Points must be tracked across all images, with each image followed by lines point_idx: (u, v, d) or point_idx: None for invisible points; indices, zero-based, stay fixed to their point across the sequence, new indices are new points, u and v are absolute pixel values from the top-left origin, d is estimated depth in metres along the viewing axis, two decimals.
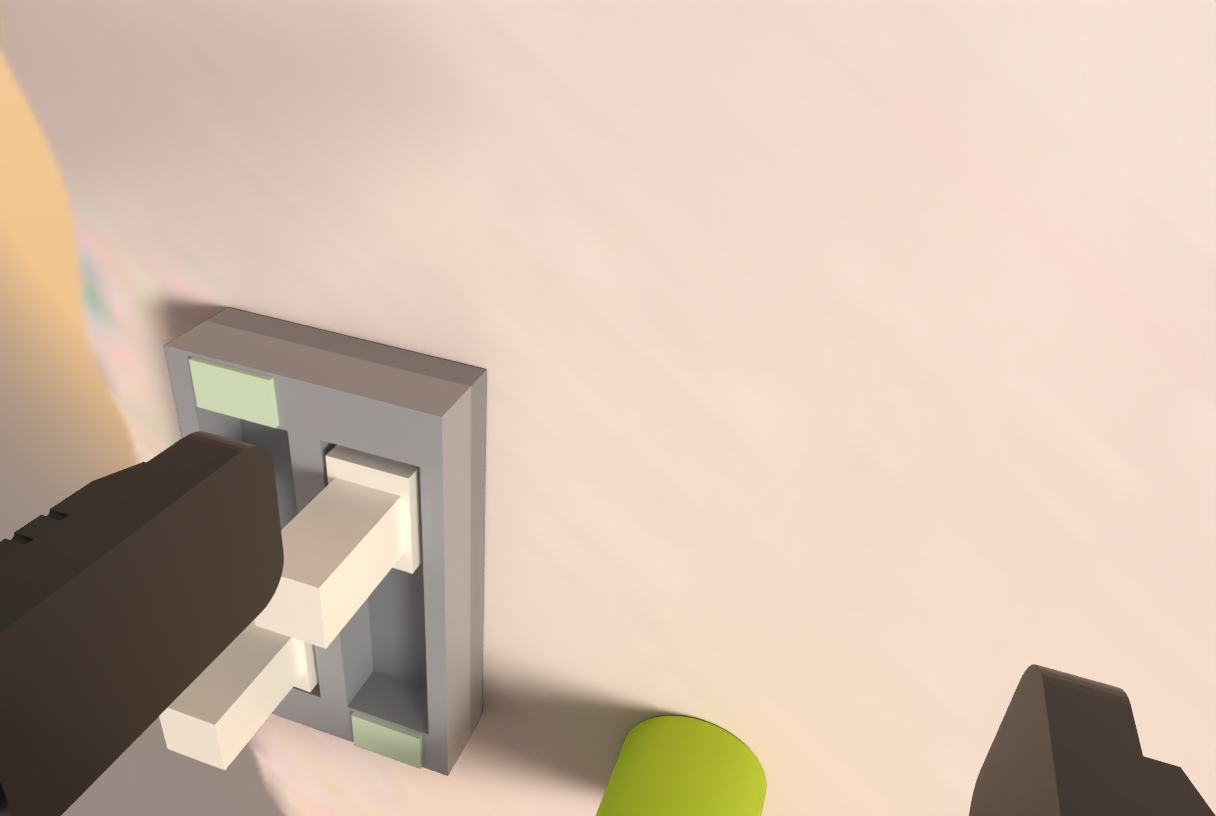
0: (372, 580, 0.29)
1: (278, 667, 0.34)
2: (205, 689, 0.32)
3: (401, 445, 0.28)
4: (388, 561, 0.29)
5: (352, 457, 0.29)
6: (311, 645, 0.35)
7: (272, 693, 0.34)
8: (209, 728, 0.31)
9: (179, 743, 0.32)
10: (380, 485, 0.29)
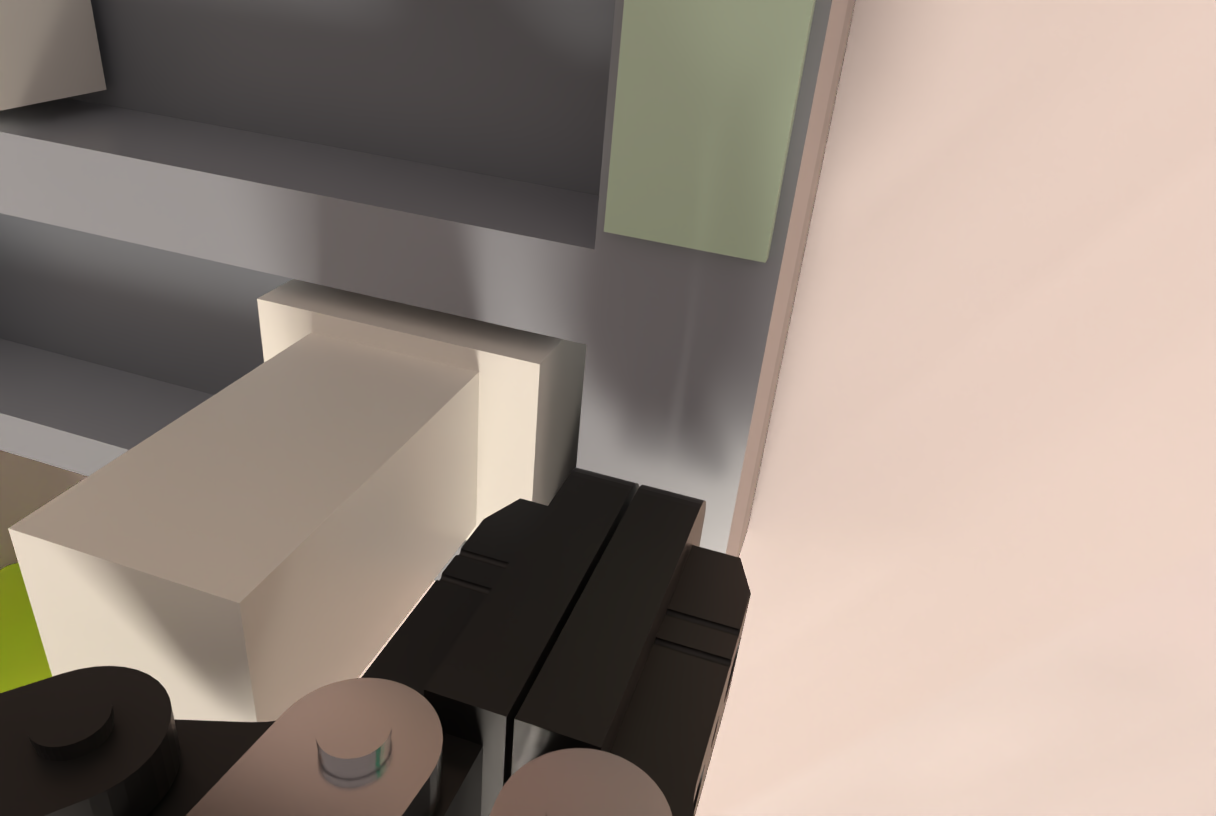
0: None
1: None
2: None
3: None
4: None
5: (544, 412, 0.12)
6: None
7: None
8: None
9: None
10: (491, 485, 0.12)
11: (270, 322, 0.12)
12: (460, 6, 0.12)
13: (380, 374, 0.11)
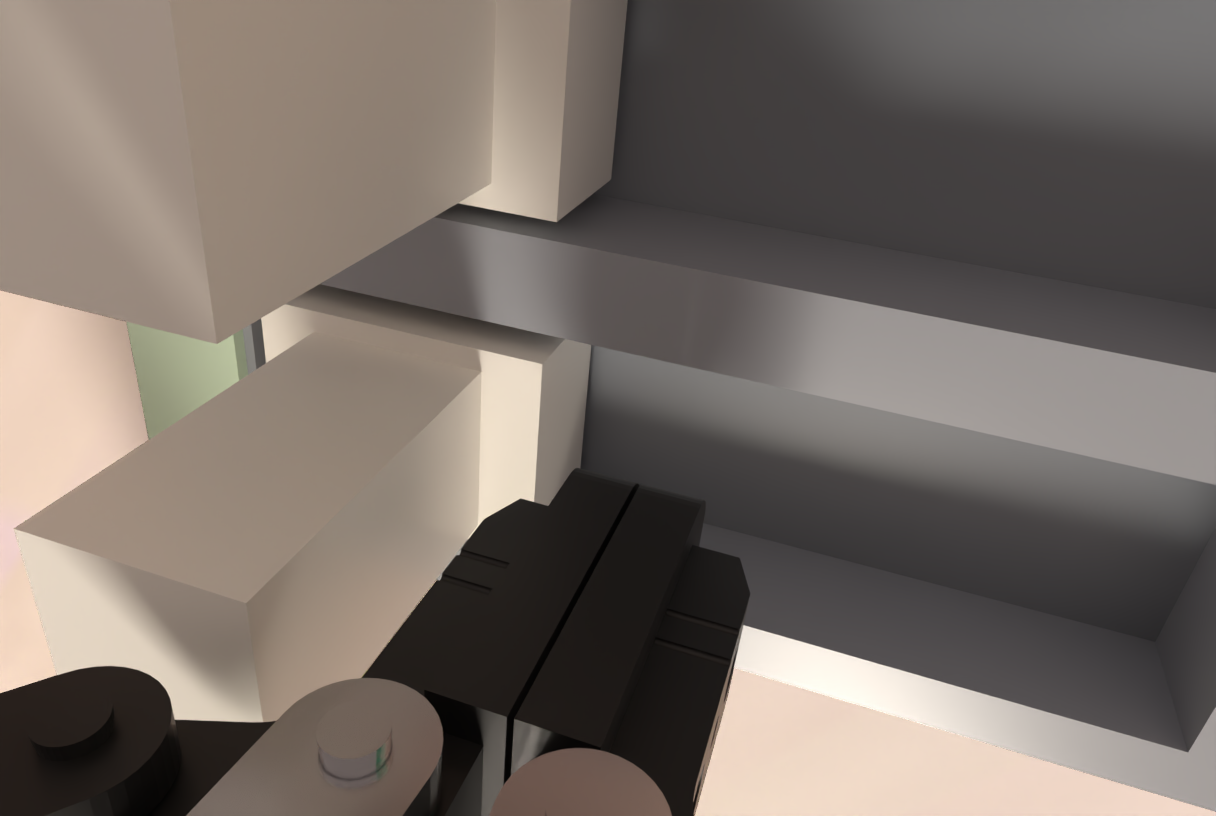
0: None
1: None
2: (297, 128, 0.07)
3: None
4: None
5: (547, 411, 0.12)
6: None
7: None
8: (173, 300, 0.06)
9: None
10: (494, 485, 0.12)
11: (272, 322, 0.12)
12: (1133, 100, 0.10)
13: (383, 374, 0.11)
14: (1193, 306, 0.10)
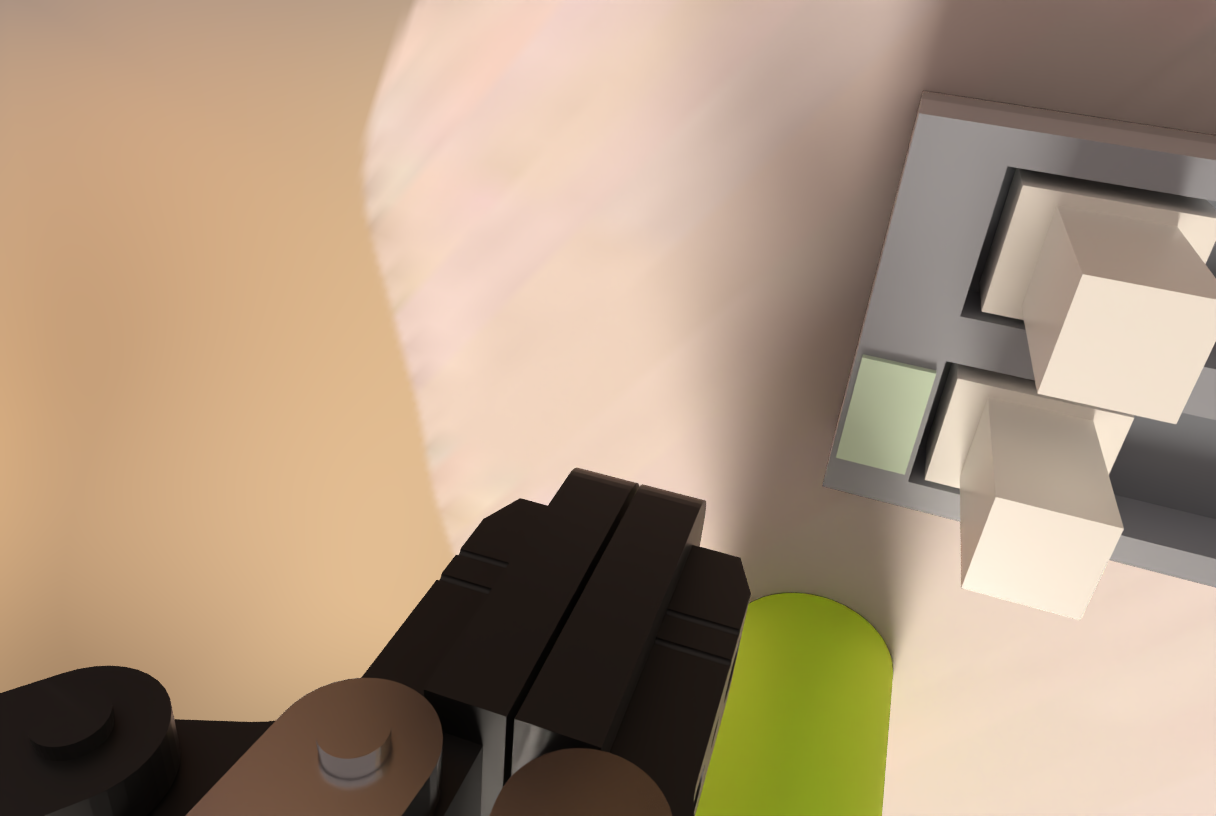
0: None
1: None
2: None
3: None
4: None
5: (1119, 442, 0.22)
6: None
7: None
8: (1162, 408, 0.16)
9: (1105, 313, 0.16)
10: None
11: (961, 391, 0.22)
12: None
13: (1049, 422, 0.21)
14: None
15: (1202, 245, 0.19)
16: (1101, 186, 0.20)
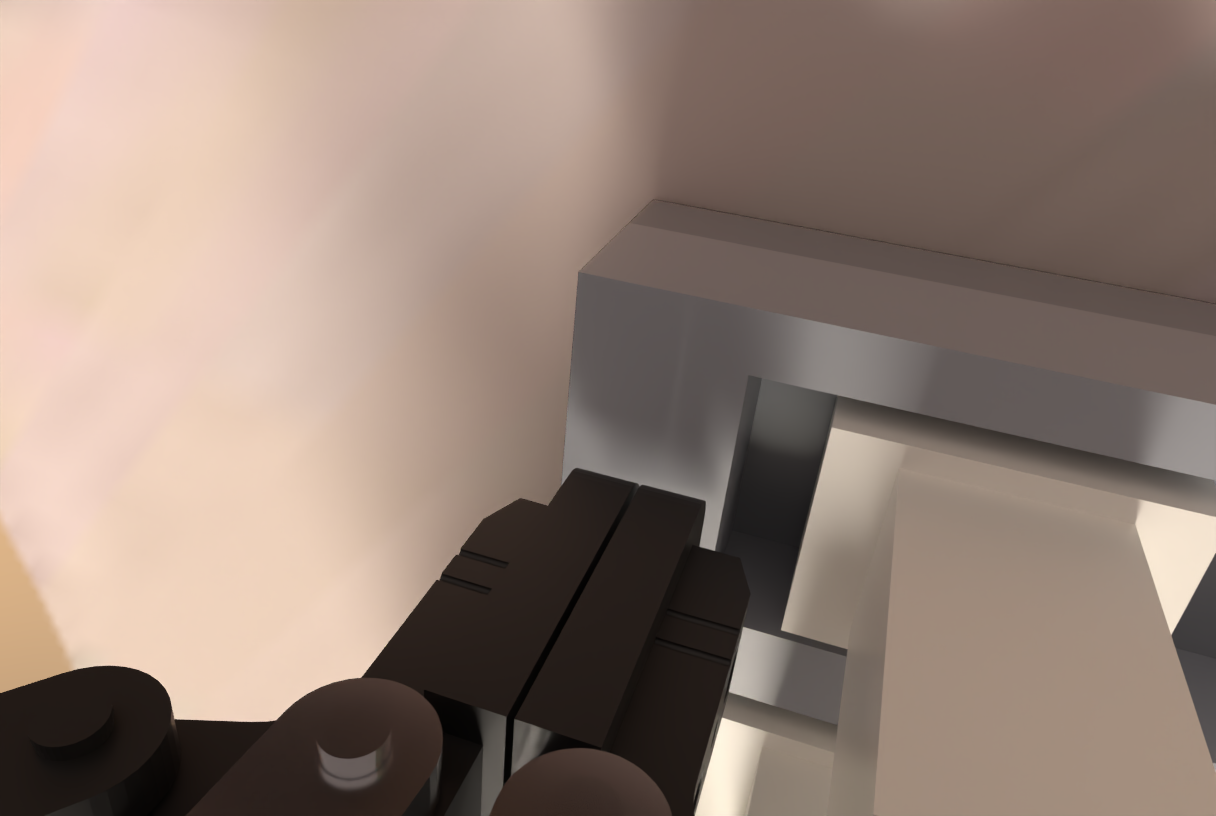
0: None
1: None
2: None
3: None
4: None
5: None
6: None
7: None
8: None
9: None
10: None
11: None
12: None
13: None
14: None
15: (1186, 560, 0.09)
16: None
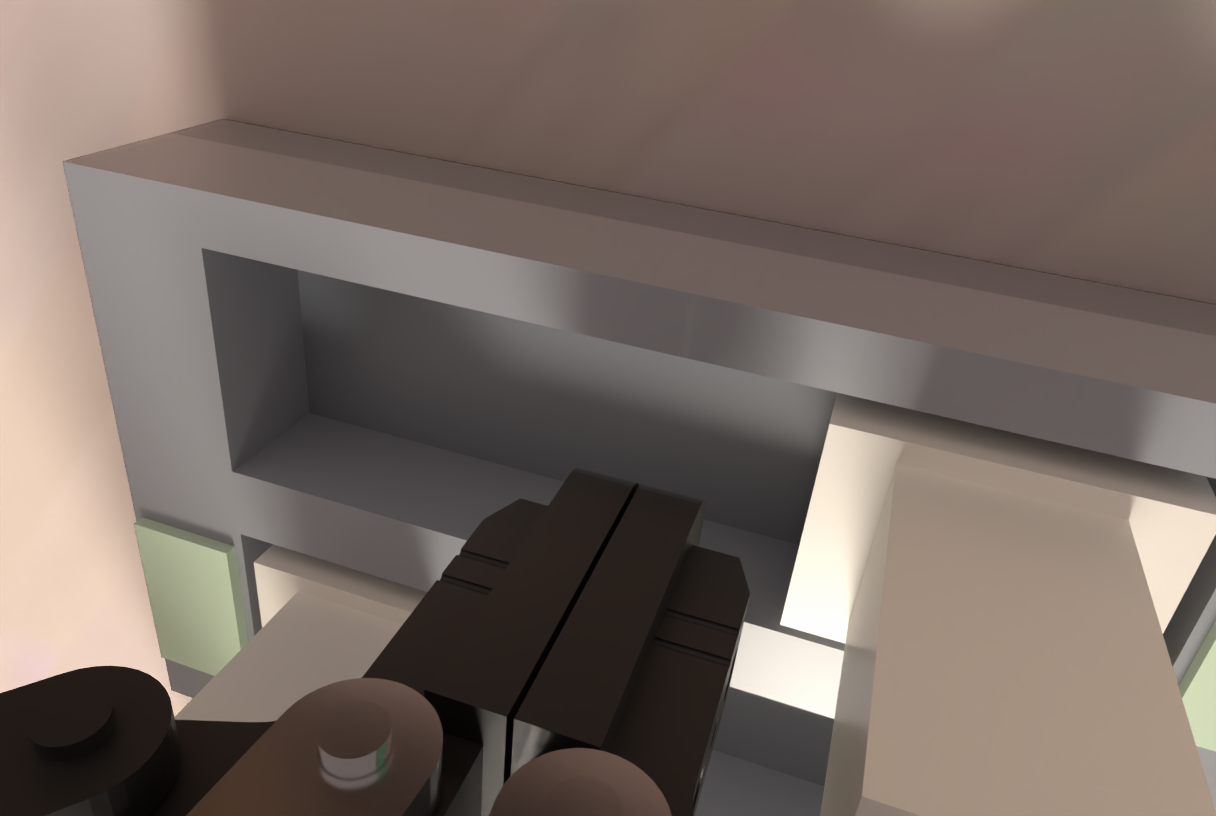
0: None
1: None
2: None
3: None
4: None
5: None
6: None
7: None
8: None
9: None
10: None
11: (264, 580, 0.14)
12: None
13: (353, 642, 0.14)
14: None
15: (1179, 556, 0.10)
16: None
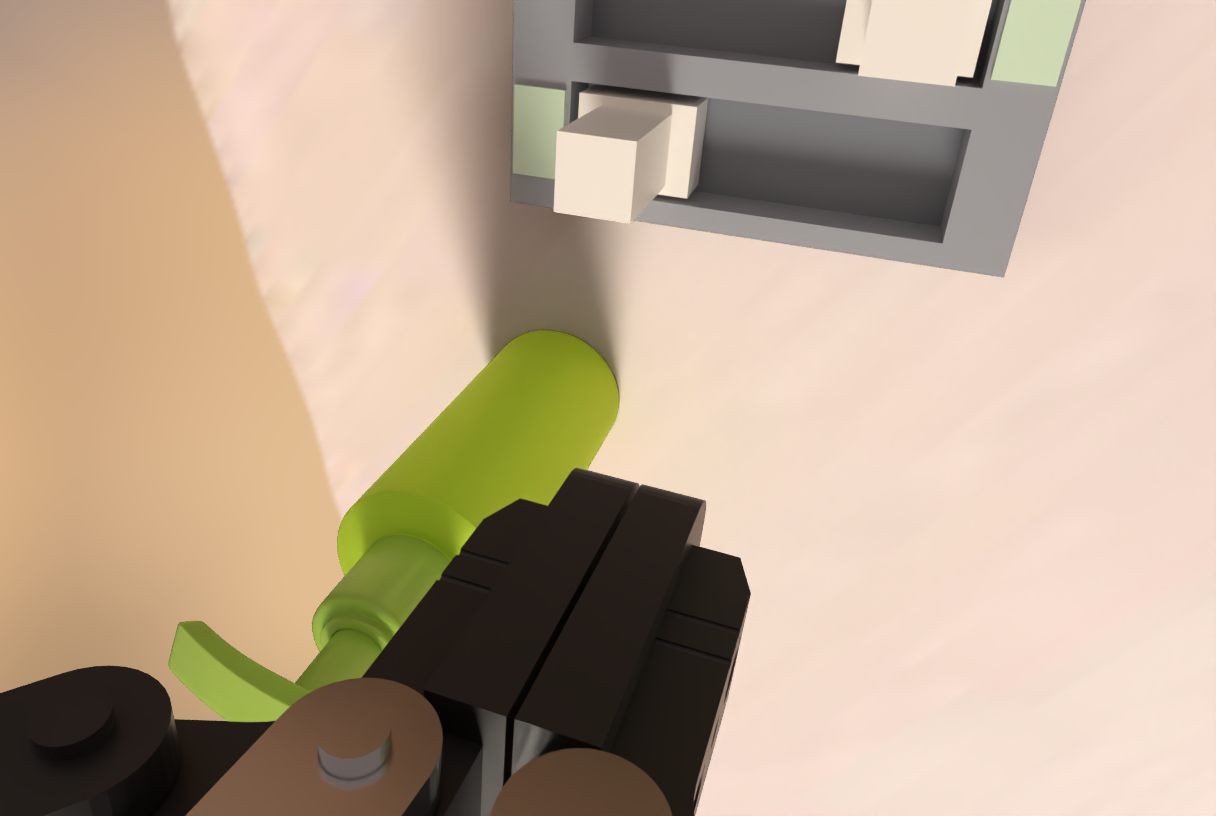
0: None
1: None
2: None
3: (968, 228, 0.29)
4: None
5: (695, 131, 0.30)
6: None
7: None
8: (944, 74, 0.23)
9: (896, 2, 0.22)
10: (673, 165, 0.30)
11: (583, 102, 0.30)
12: None
13: (637, 113, 0.29)
14: None
15: None
16: None
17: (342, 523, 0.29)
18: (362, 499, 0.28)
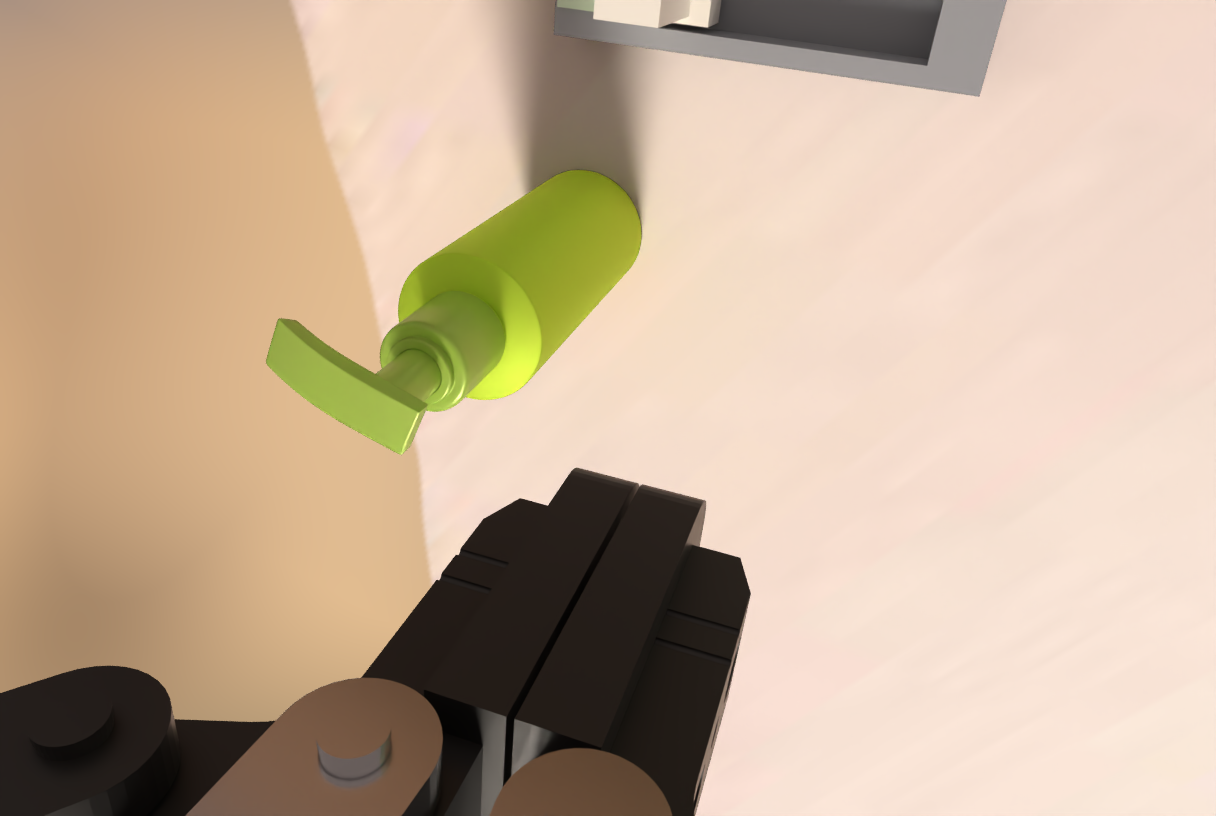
0: None
1: None
2: None
3: (949, 50, 0.33)
4: None
5: None
6: None
7: None
8: None
9: None
10: None
11: None
12: None
13: None
14: None
15: None
16: None
17: (404, 286, 0.34)
18: (422, 262, 0.33)
